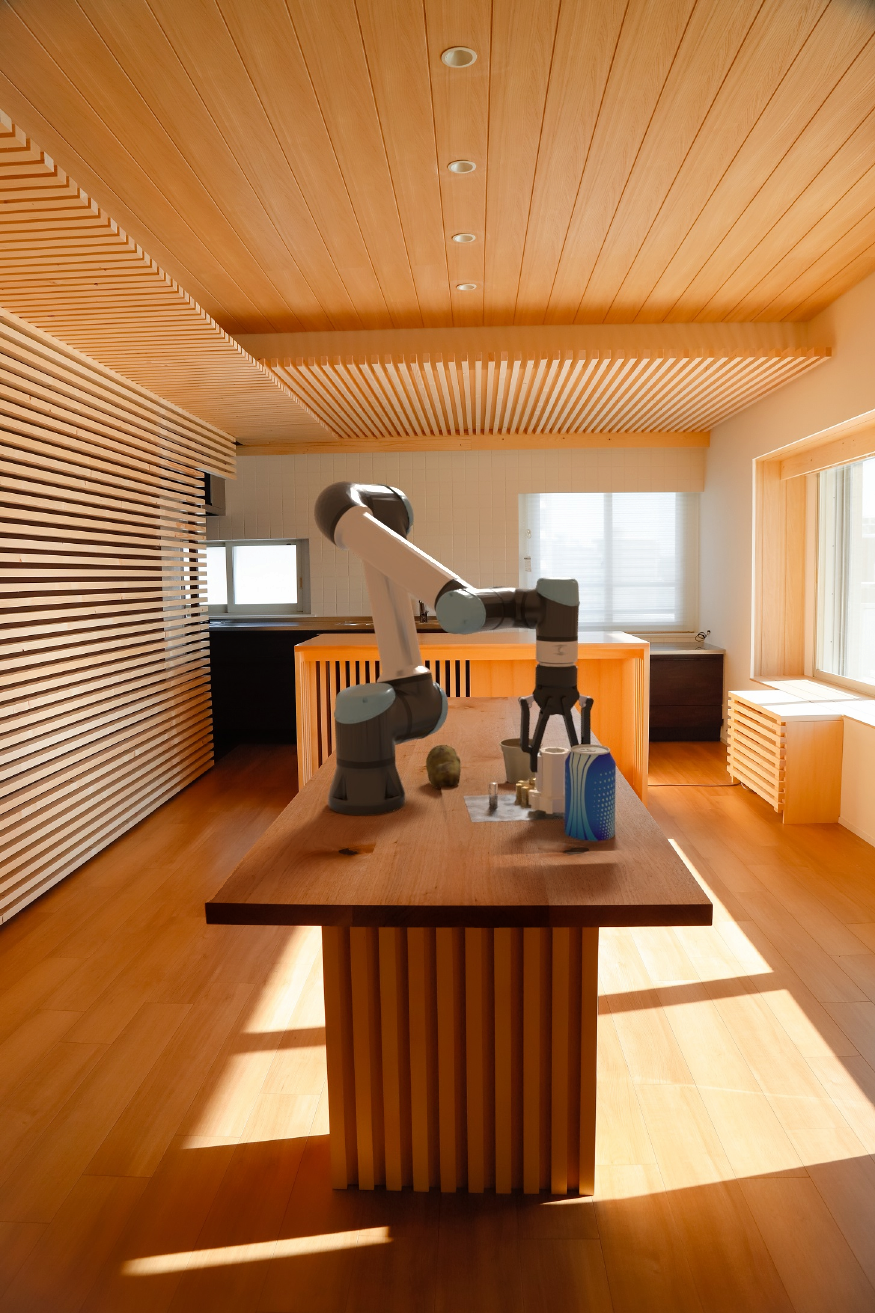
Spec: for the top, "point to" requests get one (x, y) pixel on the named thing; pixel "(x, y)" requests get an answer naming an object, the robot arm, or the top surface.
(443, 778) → the potato
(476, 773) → the top surface
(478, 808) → the plate
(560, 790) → the planet gear
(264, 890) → the top surface
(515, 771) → the flower pot
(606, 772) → the beer can
